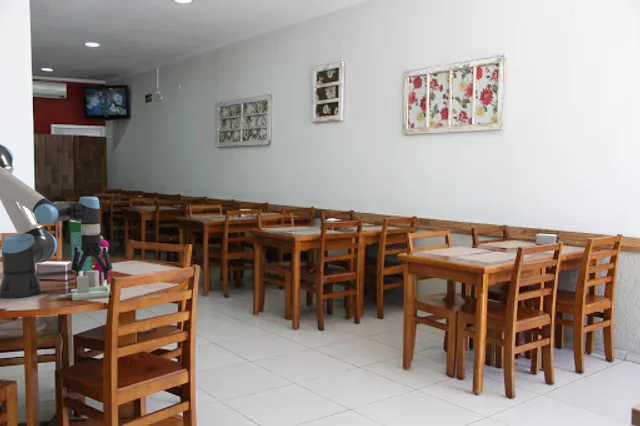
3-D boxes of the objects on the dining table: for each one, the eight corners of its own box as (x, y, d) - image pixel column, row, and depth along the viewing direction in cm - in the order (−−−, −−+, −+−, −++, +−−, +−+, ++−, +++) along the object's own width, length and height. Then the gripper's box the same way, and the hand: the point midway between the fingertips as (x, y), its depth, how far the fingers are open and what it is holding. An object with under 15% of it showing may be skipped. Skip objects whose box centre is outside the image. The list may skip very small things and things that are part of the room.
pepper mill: (105, 283, 259) (103, 237, 257) (90, 282, 260) (88, 237, 258) (114, 279, 266) (112, 235, 264) (99, 279, 267) (98, 234, 265)
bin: (72, 300, 226) (72, 294, 226) (71, 294, 236) (71, 289, 236) (111, 296, 232) (111, 291, 232) (108, 291, 242) (108, 286, 242)
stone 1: (89, 295, 232) (88, 277, 231) (77, 296, 230) (77, 278, 229) (88, 293, 235) (87, 275, 235) (77, 294, 234) (76, 276, 233)
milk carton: (92, 272, 284) (90, 220, 282) (71, 273, 280) (69, 221, 278) (92, 269, 292) (90, 218, 290) (72, 270, 289) (70, 219, 287)
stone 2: (85, 288, 247) (85, 272, 247) (90, 286, 251) (89, 270, 251) (94, 288, 247) (94, 272, 246) (99, 286, 251) (98, 270, 250)
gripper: (60, 234, 244) (62, 288, 246) (112, 235, 242) (114, 289, 244) (69, 232, 252) (72, 284, 254) (120, 233, 250) (121, 285, 252)
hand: (92, 287), depth 249 cm, fingers open, 9 cm apart
